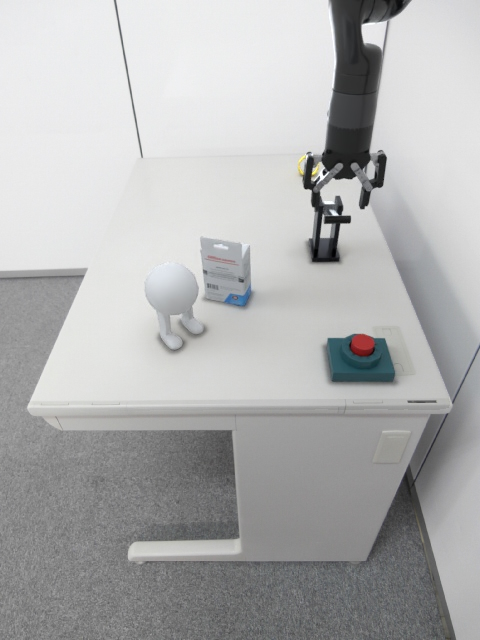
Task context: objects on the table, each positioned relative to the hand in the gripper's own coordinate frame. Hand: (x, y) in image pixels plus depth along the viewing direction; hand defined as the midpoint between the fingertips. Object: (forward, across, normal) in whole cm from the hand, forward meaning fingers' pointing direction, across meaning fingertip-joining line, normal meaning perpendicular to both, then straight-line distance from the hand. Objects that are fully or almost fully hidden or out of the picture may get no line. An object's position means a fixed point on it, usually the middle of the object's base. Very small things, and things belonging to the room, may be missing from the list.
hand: (338, 207), depth 83 cm
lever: (+5, 0, +4) cm, 6 cm away
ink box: (+16, -22, -6) cm, 28 cm away
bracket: (+16, 0, +9) cm, 18 cm away
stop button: (+13, +2, -25) cm, 28 cm away
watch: (+16, 0, +49) cm, 52 cm away
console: (+16, +2, -25) cm, 30 cm away
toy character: (+16, -30, -17) cm, 38 cm away
